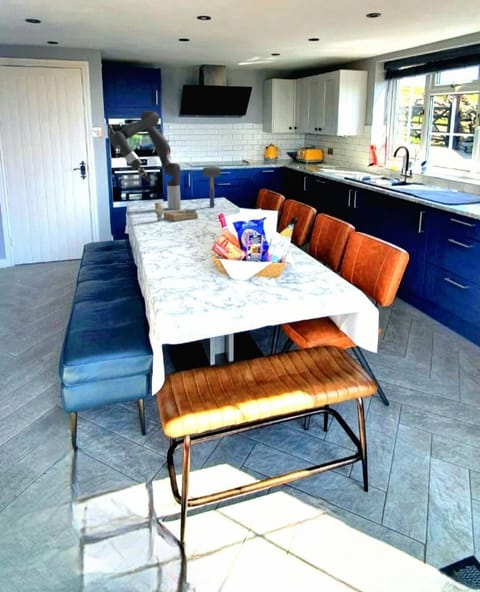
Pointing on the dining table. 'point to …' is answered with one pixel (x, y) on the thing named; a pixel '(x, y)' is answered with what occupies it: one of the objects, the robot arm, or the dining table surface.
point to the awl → (159, 210)
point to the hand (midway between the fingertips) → (149, 181)
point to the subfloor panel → (180, 215)
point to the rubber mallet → (211, 180)
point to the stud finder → (191, 211)
